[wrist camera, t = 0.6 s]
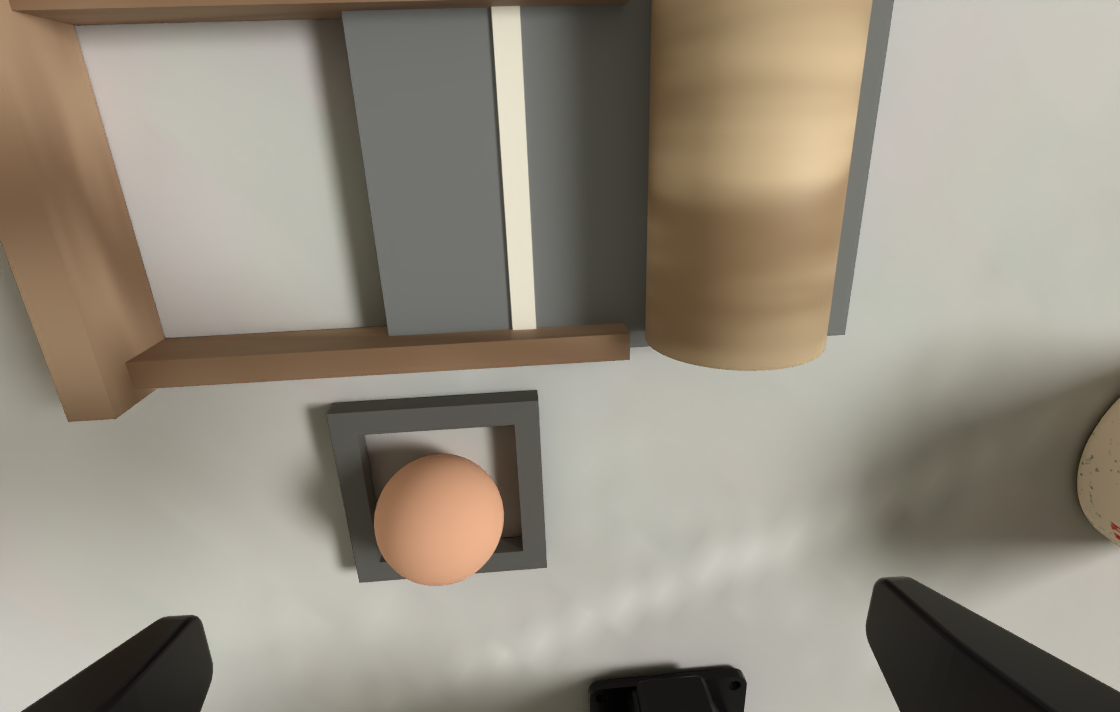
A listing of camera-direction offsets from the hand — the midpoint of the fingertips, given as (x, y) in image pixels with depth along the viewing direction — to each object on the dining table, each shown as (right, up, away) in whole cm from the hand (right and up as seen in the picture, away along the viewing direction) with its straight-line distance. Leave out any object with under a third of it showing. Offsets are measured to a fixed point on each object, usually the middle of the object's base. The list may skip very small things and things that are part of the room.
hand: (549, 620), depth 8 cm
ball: (-4, -1, +13) cm, 13 cm away
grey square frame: (-4, -1, +13) cm, 13 cm away
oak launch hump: (+5, +9, +10) cm, 14 cm away
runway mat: (+2, +9, +9) cm, 13 cm away
